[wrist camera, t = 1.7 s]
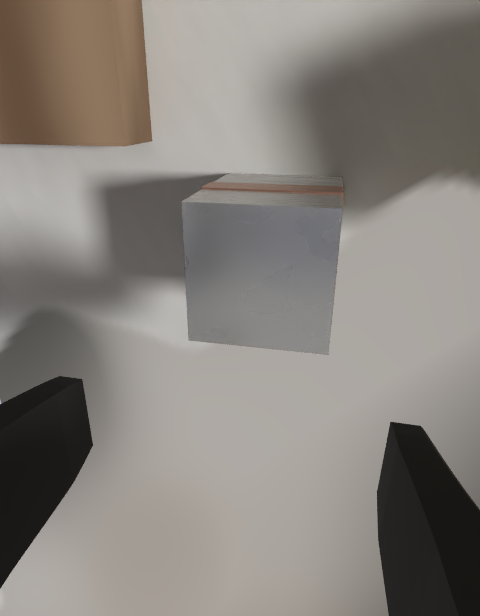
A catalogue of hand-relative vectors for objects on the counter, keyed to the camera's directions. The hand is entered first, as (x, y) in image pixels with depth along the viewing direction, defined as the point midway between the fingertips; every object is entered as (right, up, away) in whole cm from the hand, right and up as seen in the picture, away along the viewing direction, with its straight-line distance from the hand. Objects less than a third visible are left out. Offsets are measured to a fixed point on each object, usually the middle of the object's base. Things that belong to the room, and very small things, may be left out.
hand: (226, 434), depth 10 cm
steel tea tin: (+2, +6, +9) cm, 11 cm away
